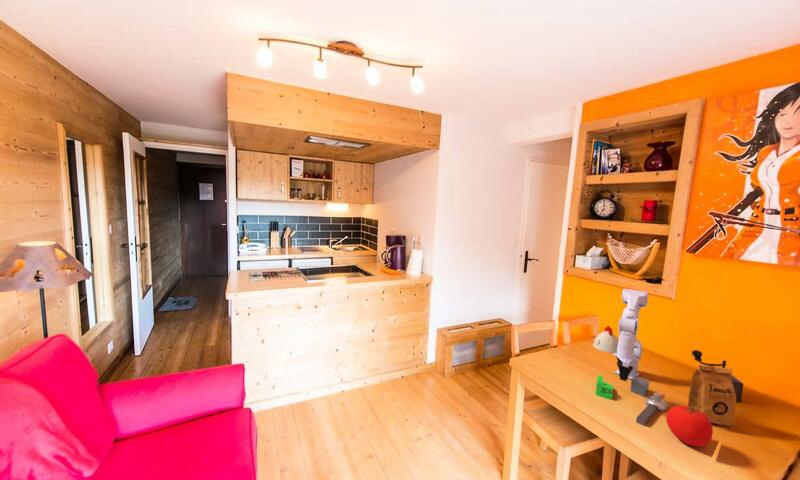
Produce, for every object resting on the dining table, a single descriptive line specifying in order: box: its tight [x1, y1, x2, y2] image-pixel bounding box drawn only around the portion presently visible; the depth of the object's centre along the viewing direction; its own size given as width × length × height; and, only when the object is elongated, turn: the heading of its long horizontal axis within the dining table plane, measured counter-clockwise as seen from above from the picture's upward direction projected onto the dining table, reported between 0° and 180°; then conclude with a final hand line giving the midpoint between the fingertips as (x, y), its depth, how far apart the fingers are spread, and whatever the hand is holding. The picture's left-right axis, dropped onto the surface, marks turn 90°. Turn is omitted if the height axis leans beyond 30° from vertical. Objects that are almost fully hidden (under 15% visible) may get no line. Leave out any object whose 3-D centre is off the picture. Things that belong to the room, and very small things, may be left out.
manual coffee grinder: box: [691, 349, 744, 404], centre depth 147 cm, size 16×11×18 cm
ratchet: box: [635, 392, 668, 426], centre depth 130 cm, size 24×7×5 cm, turn 128°
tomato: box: [665, 404, 714, 448], centre depth 114 cm, size 12×12×13 cm
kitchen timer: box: [592, 325, 619, 355], centre depth 190 cm, size 14×14×15 cm
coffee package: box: [687, 364, 737, 427], centre depth 127 cm, size 10×12×22 cm
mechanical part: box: [595, 374, 614, 401], centre depth 145 cm, size 12×6×8 cm, turn 144°
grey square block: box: [629, 375, 650, 398], centre depth 146 cm, size 5×5×6 cm
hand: (622, 376), depth 138 cm, fingers open, 7 cm apart
